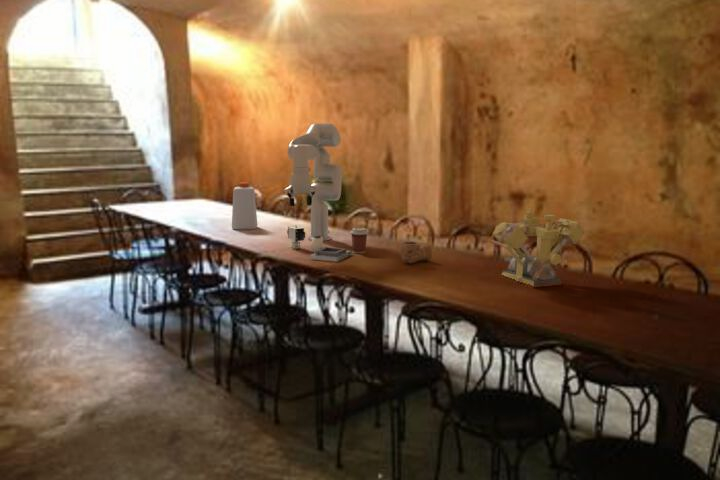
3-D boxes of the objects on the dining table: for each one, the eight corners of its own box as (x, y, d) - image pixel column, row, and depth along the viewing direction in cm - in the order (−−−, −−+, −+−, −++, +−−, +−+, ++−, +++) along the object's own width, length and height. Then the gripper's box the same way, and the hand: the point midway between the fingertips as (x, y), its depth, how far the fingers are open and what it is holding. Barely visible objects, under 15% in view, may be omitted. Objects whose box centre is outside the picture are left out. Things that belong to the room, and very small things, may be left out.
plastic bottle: (233, 226, 385) (232, 181, 380) (257, 226, 387) (257, 181, 382) (231, 230, 370) (229, 183, 365) (256, 230, 372) (255, 183, 367)
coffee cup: (356, 249, 316) (357, 226, 314) (371, 251, 311) (371, 228, 309) (346, 252, 309) (346, 228, 306) (361, 254, 303) (361, 230, 301)
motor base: (325, 252, 308) (325, 245, 307) (351, 254, 303) (351, 247, 302) (309, 259, 291) (309, 252, 290) (337, 261, 286) (337, 254, 286)
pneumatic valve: (297, 250, 311) (297, 227, 309) (287, 246, 321) (286, 224, 319) (306, 249, 314) (306, 226, 312) (296, 245, 324) (296, 223, 322)
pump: (314, 249, 314) (314, 234, 312) (324, 250, 312) (324, 235, 310) (309, 251, 309) (309, 236, 307) (319, 252, 307) (319, 237, 305)
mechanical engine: (521, 297, 230) (526, 217, 225) (467, 275, 263) (470, 205, 258) (600, 287, 246) (606, 213, 240) (539, 268, 279) (543, 202, 273)
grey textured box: (434, 261, 289) (435, 241, 287) (410, 266, 279) (411, 245, 277) (420, 258, 296) (421, 238, 294) (396, 263, 285) (397, 242, 283)
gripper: (311, 169, 307) (311, 203, 310) (281, 170, 297) (281, 205, 300) (319, 170, 301) (319, 205, 304) (288, 171, 291) (289, 207, 294)
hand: (300, 205), depth 302 cm, fingers open, 9 cm apart
